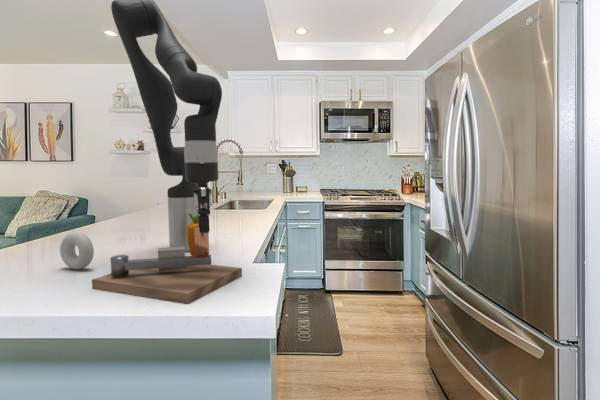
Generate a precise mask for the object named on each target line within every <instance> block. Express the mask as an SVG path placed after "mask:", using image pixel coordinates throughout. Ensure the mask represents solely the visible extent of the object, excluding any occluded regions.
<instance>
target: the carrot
mask: <svg viewBox="0 0 600 400" xmlns="http://www.w3.org/2000/svg"><path fill="white" fill-rule="evenodd" d="M188 215H189V216H190V217H191V219H192V221H193V223H191V224H189V225H188V226H187V238H188V245H189V250H190V251H189V253H190V256H195V231H194V227H198V226H199V223H198V212H197V214H196V217H195V216H194V218H193V215H192V213H191V212H189V213H188Z"/></svg>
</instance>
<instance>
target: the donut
mask: <svg viewBox="0 0 600 400" xmlns="http://www.w3.org/2000/svg"><path fill="white" fill-rule="evenodd" d="M76 247H77V249H78V255H77V253H76ZM94 251H95V250H94V245H93V242H92V240H91V239H90V238H89V236H88V235H86V234H85V233H83V232H79V231H72V232H70V233H67V235H65V236H64V237H63V239H62V240H61V243H60V247H59V253H60V257H61V260H62V262H63V263H64V264H65V265H66V266H67V267H68V268H70V269H73V270H75V271H76V270H83V269H85V268H86V267H88V266H89V265H90V264H91V263H92V260H93V258H94V253H95V252H94Z"/></svg>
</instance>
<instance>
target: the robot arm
mask: <svg viewBox="0 0 600 400" xmlns="http://www.w3.org/2000/svg"><path fill="white" fill-rule="evenodd" d="M110 8H111V9H110V10H111V14H112V18H113V22H114V24H115V26H116V29H117V32H118V35H119V37H120V39H121V42H122V45H123V47H124V49H125V52H126V54H127V57H128V60H129V62H130V66H131V68H132V69H131V70H132V72H133V75H134V78H135V81H136V84H137V87H138V91H139V94H140V98H141V100H142V101H141V102H142V105H143V107H144V110H145V112H146V115H147V118H148V121H149V123H150V124H149V125H150V128H151V130H152V134H153V138H154V141H155V146H156V151H157V154H158V155H157V156H158V159H159V163H160V166H161V169H162V171H163V173H164V174H166V175H167V176H170V177H175V176H176V177H177V176H178V177H182V179H181V181H180V182H179V183H178V184H175V185H174V186H171V187H169V188H168V189H167V209H168V211H167V212H168V238H169V240H168V242H169V244H168V245H169V247H181V246H184V248H185V252H190V250H189V245H188V238H187V226H188V225H189V224H191V223H193V221H192V219H191V217H190V216H189V215H188V213H189V212H191V213H192V215H193V218H194V216H195V217H196V214H197V212H198V223H199V231H200V233H208V232H209V233H210V215H211V210H210V209H211V207H212V194H213V193H212V189H211V188H210V187H209V186H208V185H209V182H218V181H219V161H218V159H219V158H218V152H219V151H218V146H217V145H218V144H217V133H216V132H217V130H216V129H217V127H216V124H217V120H218V116H219V110H220V107H221V102H222V97H223V92H222V91H223V90H222V86H221V83H220V81H219V80H218V79H217V78H216V77H215V76H213V75H210V74H205V73H202V72H201V73H200V72H198V66H197V64H196V62H195V60H194V58H193V57H192V56H191V55H190V54H189V53H188V51H187V50H186V49H185V48H184V47H183V46H182V44H181V43H180V42H179V40H178V39H177V37H176V36H175V34H174V31H173V30H172V27H170V25H169V23H168V21H167V19H166V18H165V16H164V14H163V13H162V10H161V9H160V7H159V6H158V5H157V3H156V2H155V1H154V0H112V2H111V6H110ZM153 35H157V37H156V41H155V42H156V43H155V49H154V50H155V51H154V52H155V58H156V60H157V62H158V64H159V65H160V66H161V68H162V69H163V71H165V73H166V75H168V77H169V78H168V77H167V76H166V75H165V74H164V73H163V72H162V71H161V70H160V69H159V68H158V67H157V66H155V64H153V62H152V61H151V60H149V58H148V57H147V55H145V54H144V51H143V50H142V48H141V46H140V44H139V42H138V39H139V38H142V37H148V36H153ZM177 98H178V99H179V100H181V101H182V102H184V103H186V104H190V105H198V106H199V109H198V112H197V114H190V115H188V116H186V117H185V118H184V124H183V126H184V128H183V130H184V146H174V144H173V142H172V138H171V131H172V127H173V124H174V121H175V118H176V116H177V112H178V102H177Z"/></svg>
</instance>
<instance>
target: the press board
mask: <svg viewBox="0 0 600 400" xmlns="http://www.w3.org/2000/svg"><path fill="white" fill-rule="evenodd" d="M157 248H158V249H157V258H167V257H182V256H185V255H186V254H185V252H186V251H185V248H184V246H181V247H170V246H169V247H157ZM241 277H243V268H242V267H238V266H237V267H235V266H226V265H216V264H210V265H196V266H182V267H168V268H153V269H139V270H129V274H128V275H125V276H119V277H114V276H111V273H108V274H105V275H102V276H99V277H95V278H92V279H91V284H92V286H91V287H92V289H93V290H99V291H100V290H101V291H106V292H111V293H112V292H113V293H118V294H119V293H120V294H125V295H132V296H138V297H145V298H149V299H157V300H163V301H169V302H174V303H181V304H190V303H192V302H194V301H196V300H198V299H201V298H202V297H204V296H206V295H208V294H210V293H212V292H214V291H216V290H218V289H220V288H221V287H223V286H225V285H227V284H229V283H231V282H234V281H236V280H237V279H239V278H241Z"/></svg>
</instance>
